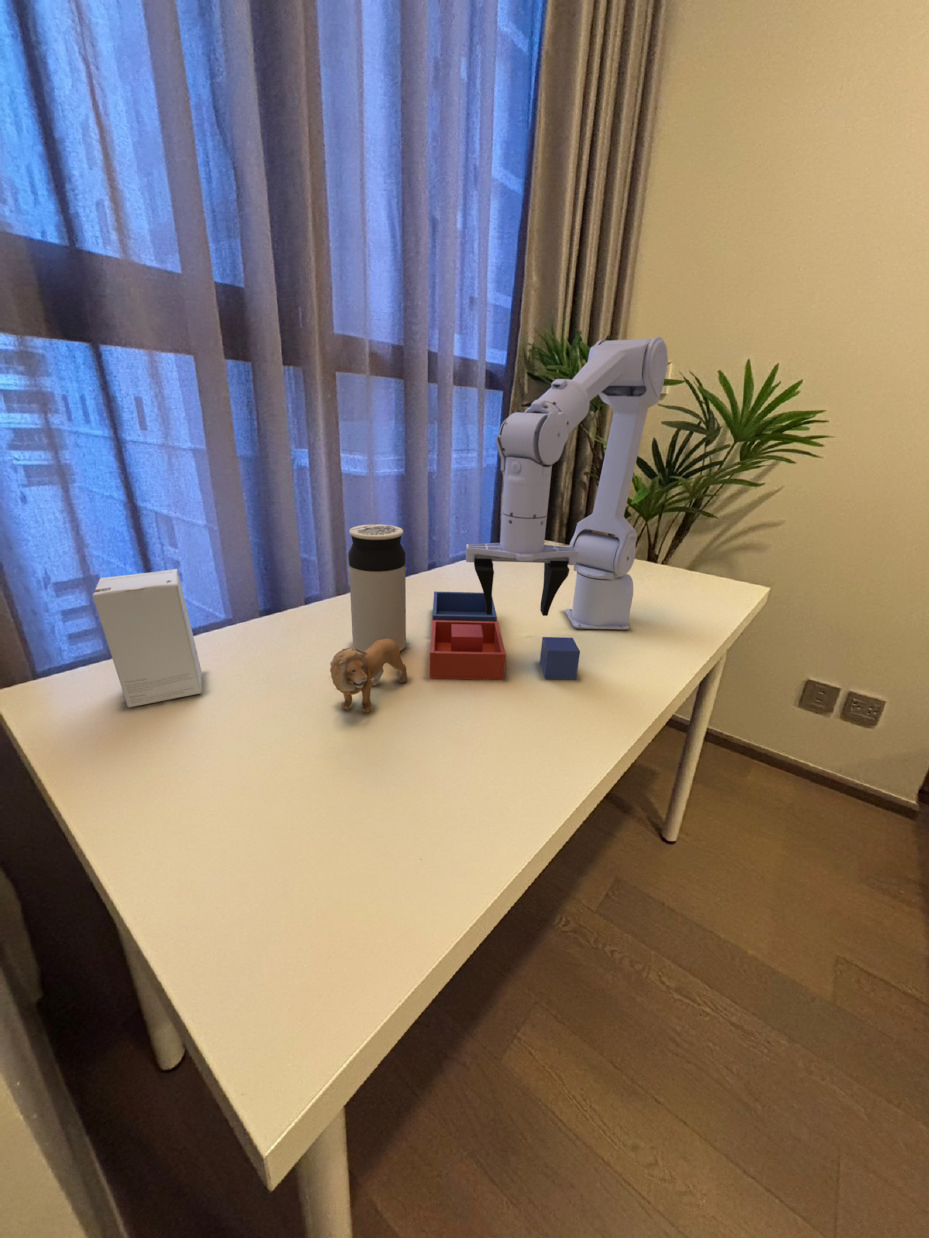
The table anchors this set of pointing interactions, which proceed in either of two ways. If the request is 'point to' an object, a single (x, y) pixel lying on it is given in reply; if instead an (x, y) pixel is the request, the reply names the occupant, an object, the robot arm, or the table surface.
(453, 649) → the red block
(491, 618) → the blue bin
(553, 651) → the blue block
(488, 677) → the red bin
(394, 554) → the travel mug
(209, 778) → the table surface
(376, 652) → the lion figurine
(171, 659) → the cosmetic box
